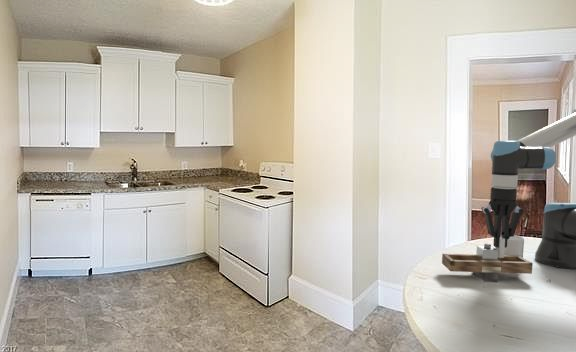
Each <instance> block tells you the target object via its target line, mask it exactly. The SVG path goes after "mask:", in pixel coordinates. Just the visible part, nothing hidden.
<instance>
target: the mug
mask: <svg viewBox="0 0 576 352" xmlns="http://www.w3.org/2000/svg"><path fill="white" fill-rule="evenodd" d="M501 237H502V236H501ZM494 248H496V247H494ZM524 249H525V238H524V237H522V236H519V235H518V234H517V235H516V234H514V236H513V237H510V238H509V239H508V240H507V247H506V248H504V255H514V256H520V257H522V258H524Z"/></svg>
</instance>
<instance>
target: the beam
mask: <svg viewBox="0 0 576 352" xmlns="http://www.w3.org/2000/svg"><path fill="white" fill-rule="evenodd" d="M441 264H442V265H443V266H444V267H445V268H446V269H447V270H448V271H450V272H453V273H454V272H459V273H461V272H462V273H463V272H465V273H473V274H475V275H476V276H477V277H478V278H480V279H481V280H482V281H483V282H484V283H486V282H487V283H498V280H499V274H525V275H526V274H527V275H528V274H529V275H531V274H533V264H534V263H533V262H531V261H530V260H528V259H525V258H524V257H523V258H522V257H520V256H514V255H504V258H499V257H498V261H493V260H481V261H477V260H476V253H471V254H470V253H469V254H468V253H466V254H464V253H442V257H441Z"/></svg>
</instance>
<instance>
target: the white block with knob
mask: <svg viewBox="0 0 576 352" xmlns="http://www.w3.org/2000/svg"><path fill="white" fill-rule="evenodd" d="M475 254H476V260H477V261H481V260H493V261H498V250H497V249H496V248H495V247H494V246H492V244H491V243H484V244H483V245H476V253H475Z"/></svg>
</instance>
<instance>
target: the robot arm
mask: <svg viewBox="0 0 576 352" xmlns="http://www.w3.org/2000/svg"><path fill="white" fill-rule="evenodd" d="M575 136H576V108H575V109H574V110H572V112H571V113H570V114H569V115H567V116H565V117H562V118H561V119H559V120H556V121H555V122H553V123H551V124H549V125H546V126H544V127H542V128H540V129H537V130H536V131H534V132H532V133H531V134H528V135H526V136H524V137H521V138H520V139H518V140H497V141H495V142H494V143H493V147H492V150H491V153H490V160H491V165H492V166H491V180H490V181H491V182H490V186H492V187H490V200H489V202H488V205H486V206H483V207H481V211H482V213H483V215H484V220H485V224H486V226H485V227H486V230H487V234H488V235H489V236H491V237H493V247H494V248H495V247H496V249H497V250H498V257H499V258H504V248H506V247H507V240H508V239H509V238H510V237H513V236H514V235H516V234H515V233H516V230H517V227H518V225H519V222H520V218H521V216H522V214H523V213H524V211H525V210H524V209H525V208H524V209H523V208H521V207H519V206H518V204H517V202H516V201H517V194H518V189H517V187H518V181H519V180H518V179H519V176H518V175H519V170H539V171H542V170H550V169H552V167H554V166H555V164H556V161H557V160H556V159H557V154H556V152H555V150H554V149H553V147H554V146H557V145H559V144H561V143H562V142H565V141H567V140H568V139H571V138H573V137H575ZM491 212H493V216H492V213H491ZM492 217H493V218H492ZM542 217H543V218H542V231H541V232H542V234H541V240H540V243H539V245H538V247H537V249H536V251H535V253H534V260H536V261H537V262H538V263H539V262H540V263H541V264H543V265H547V266H551V267H556V268H562V269H572V270H573V269H576V202H575V203H573V202H549V203H546V204H545V206H544V209H543V216H542ZM501 236H502V237H501Z"/></svg>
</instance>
